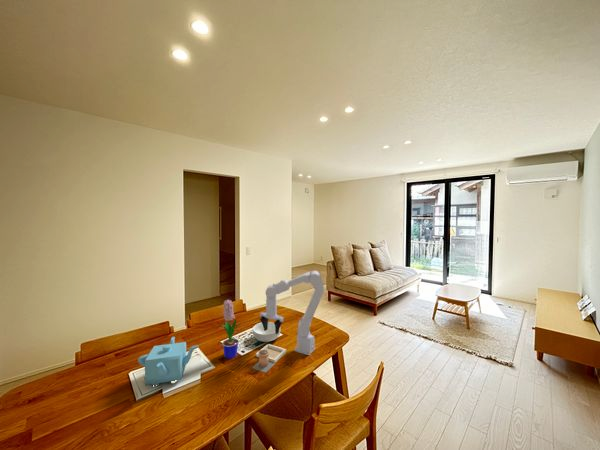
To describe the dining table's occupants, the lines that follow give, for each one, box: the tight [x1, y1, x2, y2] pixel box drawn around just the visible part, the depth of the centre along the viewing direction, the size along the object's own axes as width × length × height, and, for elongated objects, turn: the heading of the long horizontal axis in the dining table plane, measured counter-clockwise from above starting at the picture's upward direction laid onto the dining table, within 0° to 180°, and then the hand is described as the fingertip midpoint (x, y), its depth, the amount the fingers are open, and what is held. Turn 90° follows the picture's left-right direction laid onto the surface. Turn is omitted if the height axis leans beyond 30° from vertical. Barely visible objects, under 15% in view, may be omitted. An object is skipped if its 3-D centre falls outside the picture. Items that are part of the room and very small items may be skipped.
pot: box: [258, 349, 269, 367], centre depth 116 cm, size 5×5×6 cm
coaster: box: [252, 361, 276, 374], centre depth 115 cm, size 8×8×1 cm
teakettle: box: [137, 336, 199, 387], centre depth 107 cm, size 19×19×15 cm
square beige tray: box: [255, 343, 287, 364], centre depth 125 cm, size 12×11×2 cm
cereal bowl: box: [252, 321, 281, 343], centre depth 142 cm, size 17×17×7 cm
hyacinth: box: [221, 299, 242, 359], centre depth 124 cm, size 9×10×30 cm
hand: (271, 331), depth 130 cm, fingers open, 7 cm apart
